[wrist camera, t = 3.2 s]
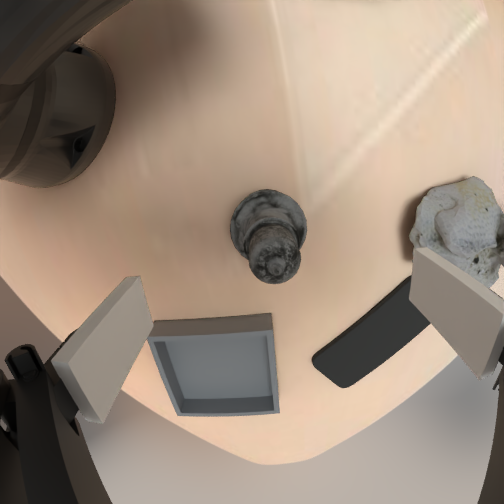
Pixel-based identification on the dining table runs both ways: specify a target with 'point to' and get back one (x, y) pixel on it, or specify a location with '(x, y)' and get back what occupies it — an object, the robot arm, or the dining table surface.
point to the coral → (463, 228)
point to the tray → (218, 365)
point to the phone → (372, 339)
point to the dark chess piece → (269, 234)
